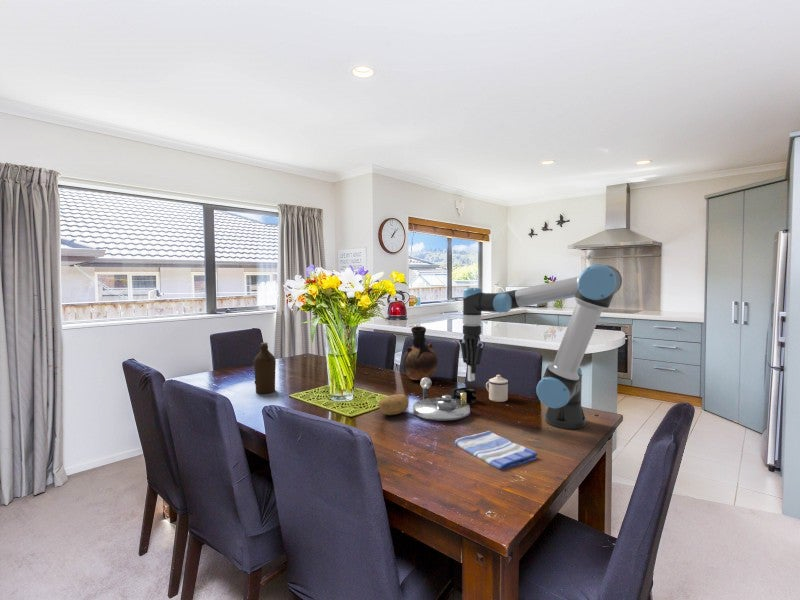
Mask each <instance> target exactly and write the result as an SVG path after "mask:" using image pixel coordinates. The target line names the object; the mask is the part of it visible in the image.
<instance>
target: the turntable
mask: <svg viewBox="0 0 800 600" xmlns="http://www.w3.org/2000/svg"><path fill="white" fill-rule="evenodd" d="M441 398H442V397H432V398H427V399H423V398H422V399H420V400H418V401H417V400H416V402H414V403H413V405H412V410H413V411H412V412H413V414H414V415H416V416H417V417H419V418H423V419H425V420H430V421H438V422H439V421H442V422H443V421H448V422H449V421H456V420H461V419H464V418H466V417H468V416H469V415H470V414H471V411H470V409H471V408H470V407H471V406H470V404H467V403H466V393H465V392H462V393H461V401H460V400H456V399H454V400H456V409H455V410H452V411H442V410H439V409H437V400H438V399H441Z"/></svg>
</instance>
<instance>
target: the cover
mask: <svg viewBox="0 0 800 600" xmlns="http://www.w3.org/2000/svg"><path fill="white" fill-rule="evenodd" d="M440 398H441V399H438V400H437V409H439V410H442V411H452V410H455V409H456V400H454V399H451V394H442V395H441V397H440Z"/></svg>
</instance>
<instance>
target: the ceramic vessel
mask: <svg viewBox="0 0 800 600" xmlns="http://www.w3.org/2000/svg"><path fill="white" fill-rule="evenodd" d="M410 330H411V333H412V337H413V340H412V344H413V345H412V346H408V347H407V348H406V352H405V353H404V355H403V357H402V361H401V364H402V365H401V366H402V369H403V371H404V373H405V375H406V376H407V377H408V378H409V379H411V380H413V381H421V379H422V378H424V377H427V378H429V379H431V377H432V376H433V374H435V372H436V370H437V368H438V365H439V360H438V355H437V354H436V351H435V350H434V348H433V344H432V343H428V344H426V341H427V339H426V337H425V336H426V332H427V328H426V327H425V326H421V325H419V326H417V325H416V326H413V327H412V328H411V329H410Z"/></svg>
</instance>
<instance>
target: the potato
mask: <svg viewBox="0 0 800 600" xmlns="http://www.w3.org/2000/svg"><path fill="white" fill-rule="evenodd" d="M377 406H378V408H379V410H380V411H381V412H382V413H384V414H385V415H387V416H395V415H398V414H401V413H403V412H405V411H406V410H407V409H408V408H409V407H408V406H409V398H408V397H407V395H405V394H404V393H399V394H390V395H388V396H385V397H383V398H381V399H380V400H379V401H378V405H377Z"/></svg>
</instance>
